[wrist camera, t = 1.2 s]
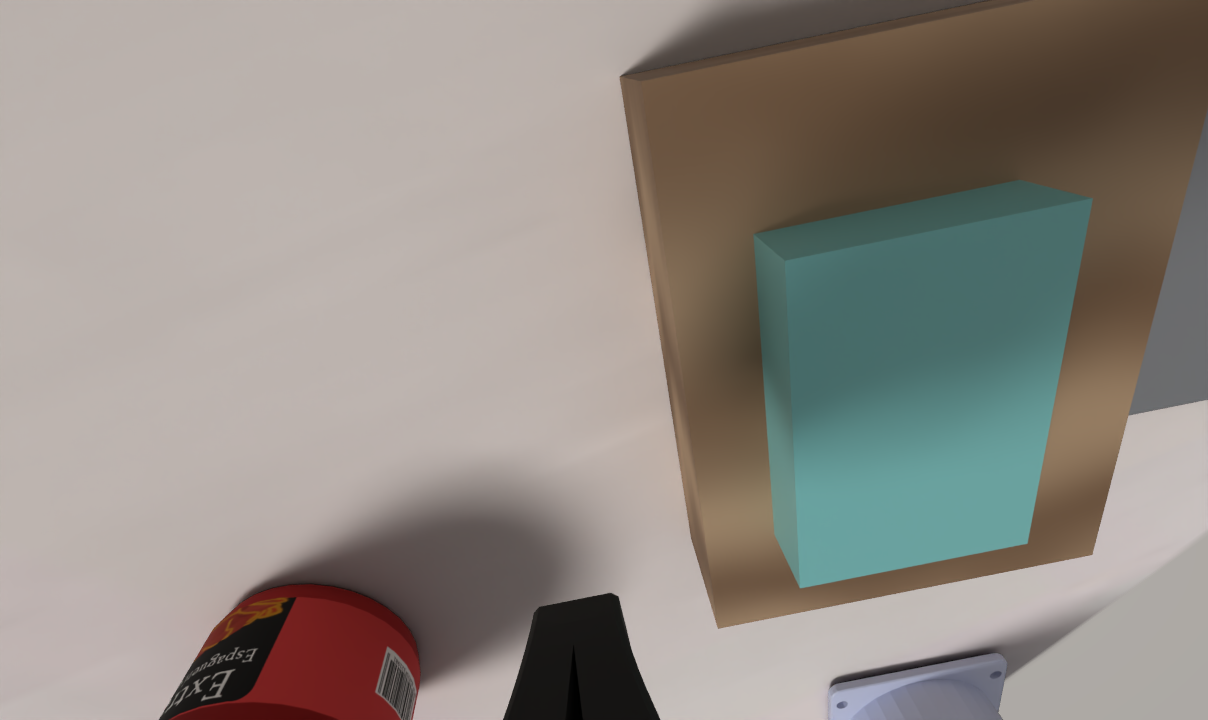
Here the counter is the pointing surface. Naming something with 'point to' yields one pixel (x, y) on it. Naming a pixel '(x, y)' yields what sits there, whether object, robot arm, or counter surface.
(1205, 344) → the mat
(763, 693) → the counter surface
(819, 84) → the board
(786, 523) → the teal rectangular block
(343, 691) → the canned food
